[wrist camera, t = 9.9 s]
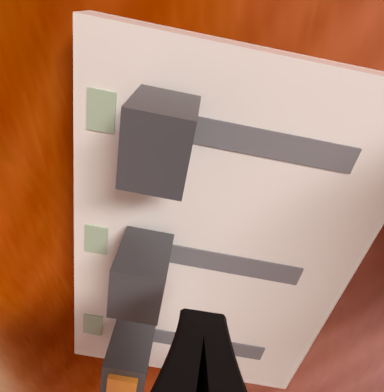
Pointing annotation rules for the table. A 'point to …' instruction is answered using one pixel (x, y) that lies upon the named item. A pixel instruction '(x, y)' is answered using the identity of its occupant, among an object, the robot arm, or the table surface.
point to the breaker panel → (229, 186)
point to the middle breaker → (139, 276)
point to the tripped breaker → (127, 357)
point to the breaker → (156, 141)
